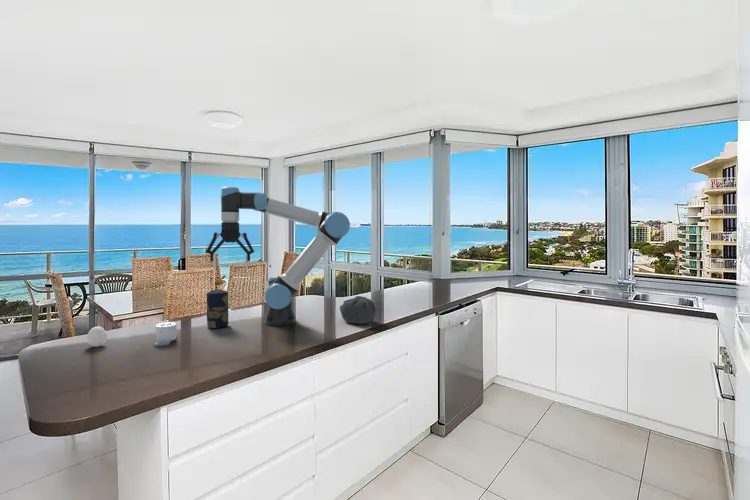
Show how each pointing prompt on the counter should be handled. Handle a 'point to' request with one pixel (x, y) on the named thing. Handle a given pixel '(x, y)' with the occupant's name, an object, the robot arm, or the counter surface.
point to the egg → (96, 336)
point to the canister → (217, 308)
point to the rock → (358, 310)
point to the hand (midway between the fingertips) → (230, 268)
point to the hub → (166, 332)
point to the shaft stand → (163, 343)
